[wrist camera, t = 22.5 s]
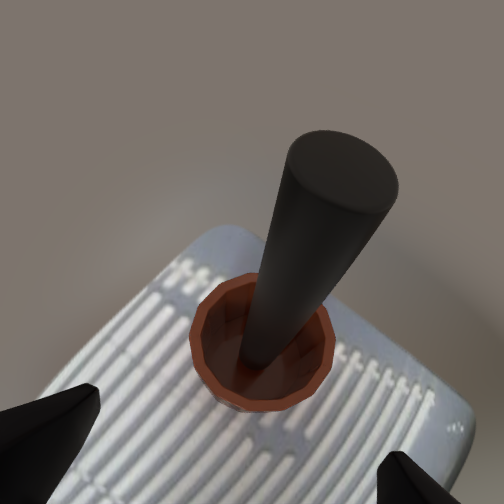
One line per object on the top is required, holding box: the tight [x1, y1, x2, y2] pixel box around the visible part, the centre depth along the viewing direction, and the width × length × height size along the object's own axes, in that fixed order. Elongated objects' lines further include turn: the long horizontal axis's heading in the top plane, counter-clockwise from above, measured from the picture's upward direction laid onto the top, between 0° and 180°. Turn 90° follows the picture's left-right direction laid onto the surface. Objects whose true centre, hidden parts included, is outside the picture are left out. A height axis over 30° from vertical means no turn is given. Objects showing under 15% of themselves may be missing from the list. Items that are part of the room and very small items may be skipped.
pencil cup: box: [189, 273, 336, 413], centre depth 14 cm, size 6×6×5 cm
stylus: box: [239, 130, 399, 370], centre depth 10 cm, size 2×2×14 cm
